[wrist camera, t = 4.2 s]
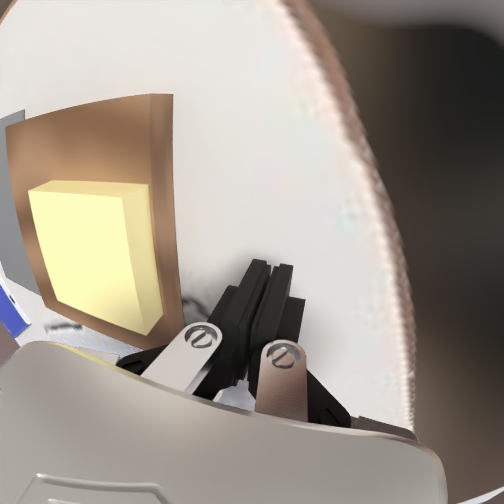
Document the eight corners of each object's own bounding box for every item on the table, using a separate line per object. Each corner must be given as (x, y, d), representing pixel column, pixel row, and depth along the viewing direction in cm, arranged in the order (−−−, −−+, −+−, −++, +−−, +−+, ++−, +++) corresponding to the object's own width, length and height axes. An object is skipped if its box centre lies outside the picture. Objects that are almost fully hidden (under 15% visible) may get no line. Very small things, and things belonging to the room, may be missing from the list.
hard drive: (13, 339, 33) (27, 327, 28) (-14, 299, 31) (-7, 276, 25) (19, 334, 34) (34, 320, 29) (-8, 294, 32) (1, 270, 27)
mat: (62, 303, 23) (60, 305, 23) (7, 276, 25) (6, 277, 25) (24, 109, 14) (21, 110, 14) (-23, 130, 17) (-25, 130, 16)
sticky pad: (163, 313, 16) (146, 335, 14) (75, 284, 17) (57, 300, 16) (148, 184, 12) (121, 197, 11) (52, 180, 14) (28, 190, 12)
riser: (186, 341, 20) (174, 360, 18) (59, 295, 22) (45, 306, 21) (173, 94, 12) (150, 93, 10) (24, 121, 15) (5, 126, 13)
